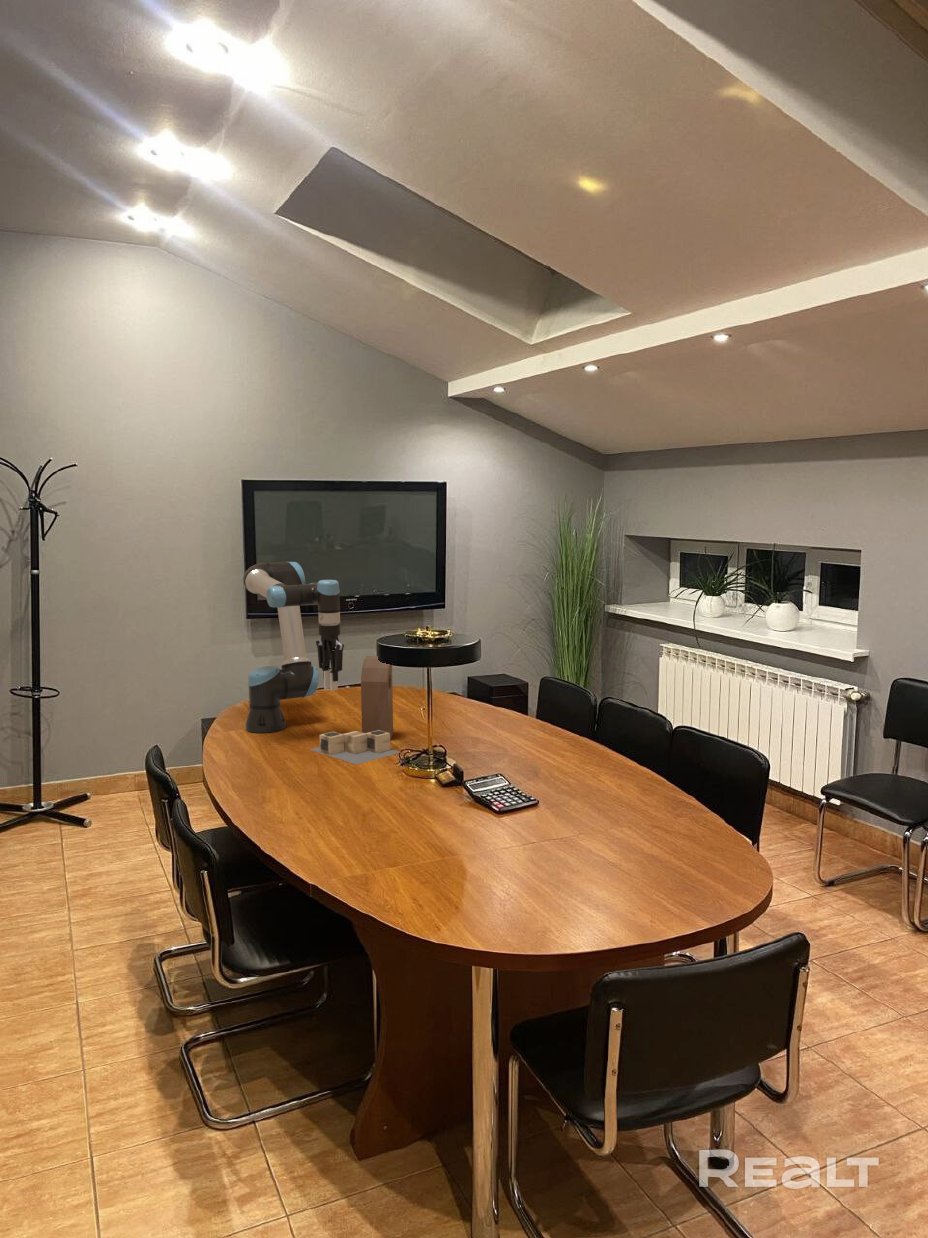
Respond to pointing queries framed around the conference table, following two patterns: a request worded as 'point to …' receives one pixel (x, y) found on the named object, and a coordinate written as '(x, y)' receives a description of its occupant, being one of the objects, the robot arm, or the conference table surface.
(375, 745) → the marked block
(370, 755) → the mat
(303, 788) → the conference table surface
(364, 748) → the plain block
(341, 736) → the marked block
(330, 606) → the robot arm
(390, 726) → the decorative block
